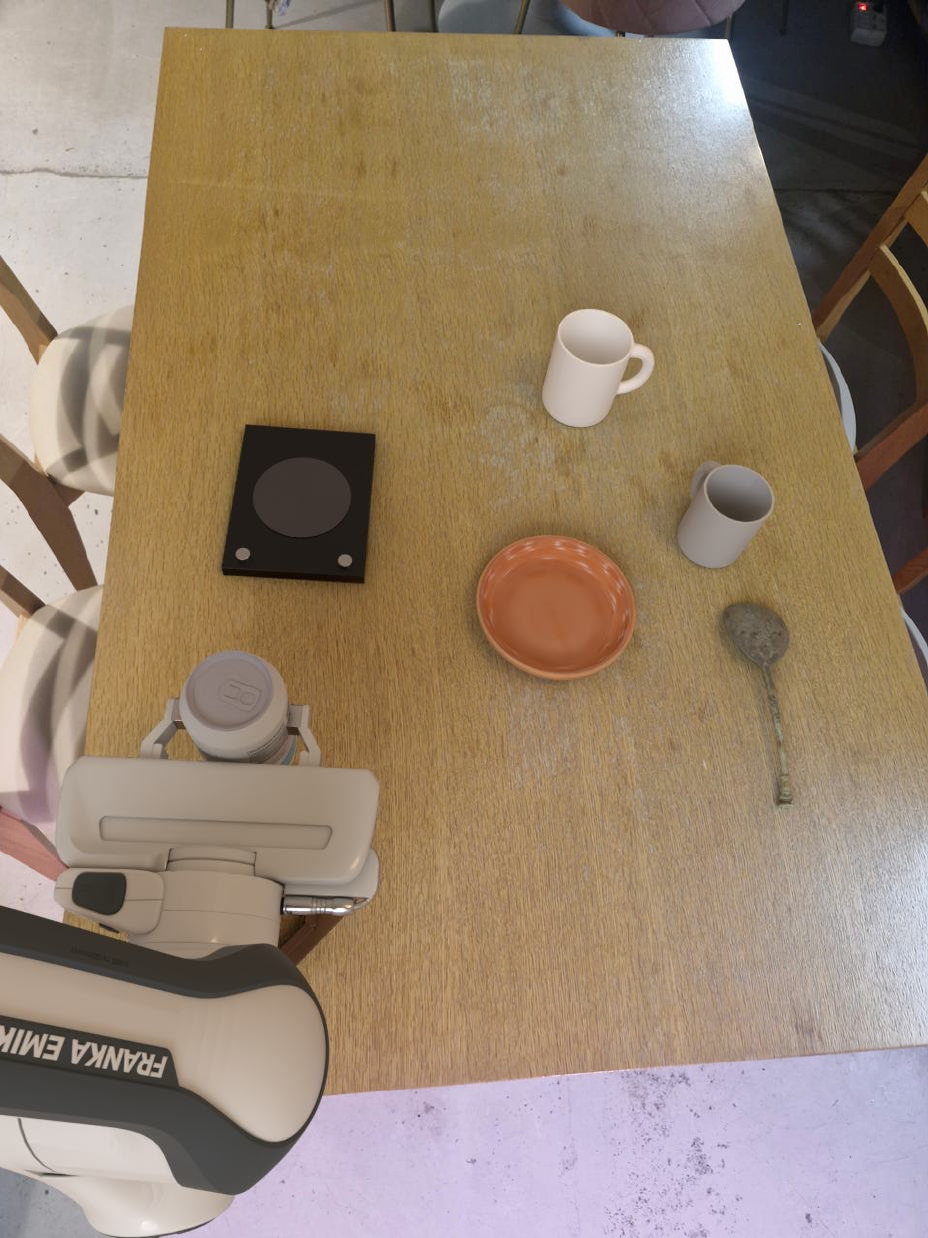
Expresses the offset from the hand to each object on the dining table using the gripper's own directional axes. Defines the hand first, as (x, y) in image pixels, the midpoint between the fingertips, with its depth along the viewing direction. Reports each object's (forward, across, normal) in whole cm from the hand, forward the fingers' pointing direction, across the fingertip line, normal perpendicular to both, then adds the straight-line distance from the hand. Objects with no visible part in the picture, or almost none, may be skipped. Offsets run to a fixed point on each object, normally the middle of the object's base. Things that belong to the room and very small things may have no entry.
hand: (240, 703), depth 59 cm
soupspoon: (+10, -47, +19) cm, 52 cm away
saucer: (+18, -26, +19) cm, 37 cm away
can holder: (-11, 0, +19) cm, 22 cm away
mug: (+47, -32, +19) cm, 60 cm away
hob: (+30, 0, +19) cm, 35 cm away
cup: (+30, -43, +19) cm, 56 cm away
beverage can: (-1, 0, +7) cm, 7 cm away
